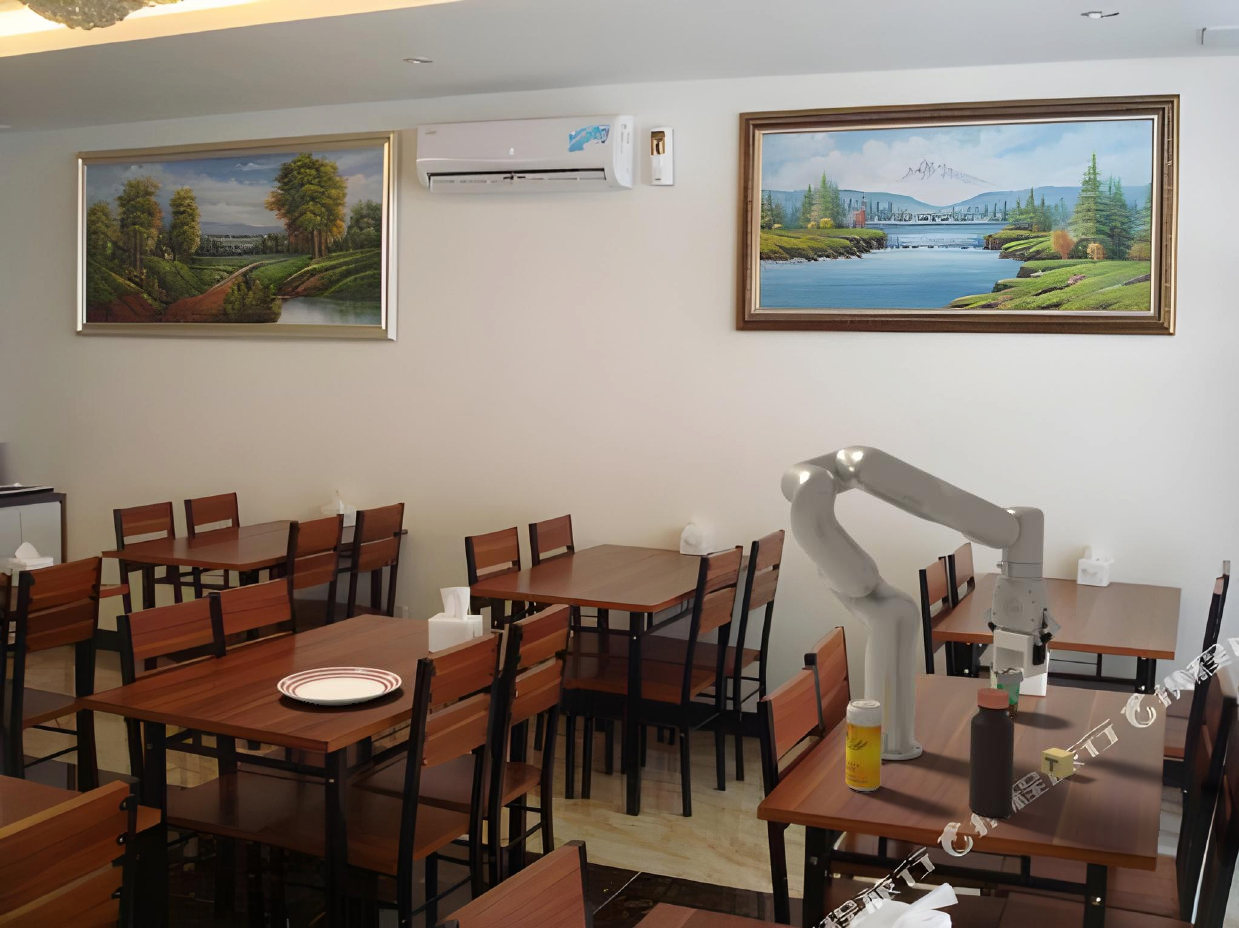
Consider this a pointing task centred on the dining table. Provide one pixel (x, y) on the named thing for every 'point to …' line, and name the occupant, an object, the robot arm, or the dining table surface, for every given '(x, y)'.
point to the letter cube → (1057, 762)
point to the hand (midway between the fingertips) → (1019, 659)
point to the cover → (1016, 652)
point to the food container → (1008, 685)
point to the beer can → (863, 744)
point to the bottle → (991, 755)
